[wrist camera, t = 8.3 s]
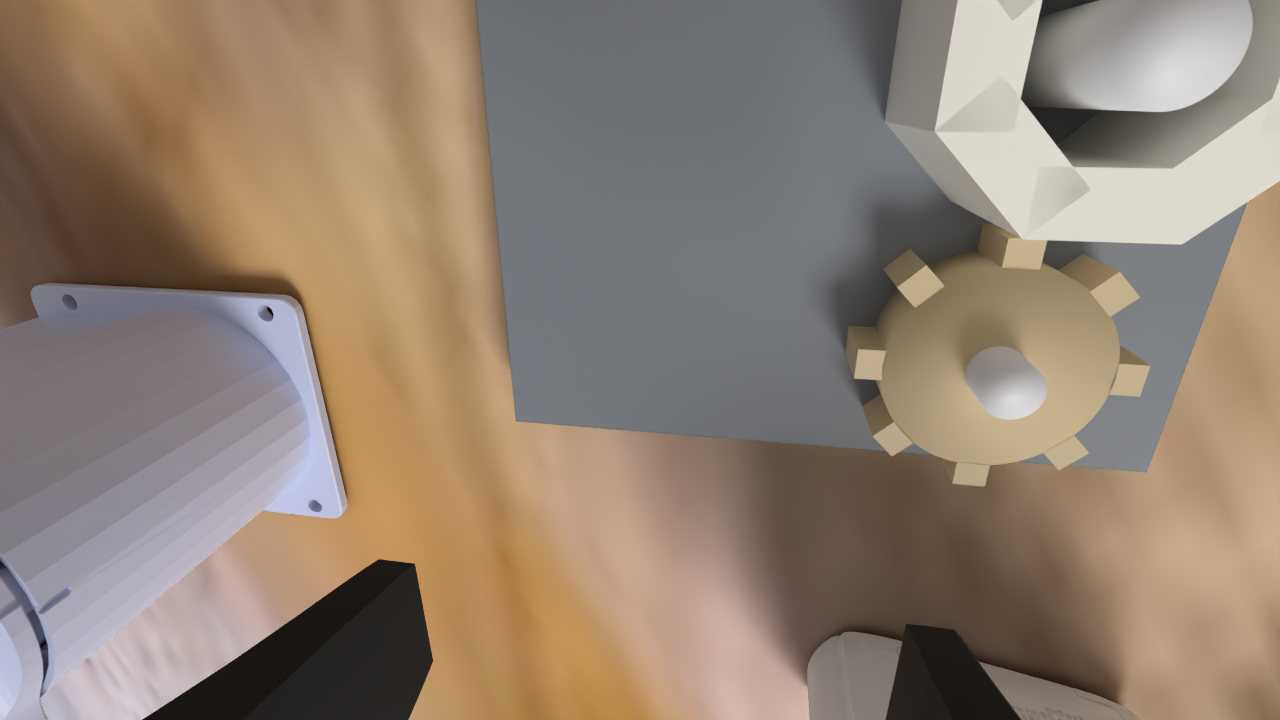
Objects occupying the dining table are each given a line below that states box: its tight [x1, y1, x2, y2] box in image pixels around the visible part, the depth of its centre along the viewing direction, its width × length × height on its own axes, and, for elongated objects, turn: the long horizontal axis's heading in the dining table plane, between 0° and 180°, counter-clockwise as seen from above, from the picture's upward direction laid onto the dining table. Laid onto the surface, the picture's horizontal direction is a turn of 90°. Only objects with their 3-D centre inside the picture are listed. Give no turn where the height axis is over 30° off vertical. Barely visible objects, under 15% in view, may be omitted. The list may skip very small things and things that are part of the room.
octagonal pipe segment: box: [885, 0, 1280, 245], centre depth 10 cm, size 5×5×4 cm
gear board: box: [476, 0, 1253, 487], centre depth 11 cm, size 16×18×6 cm
